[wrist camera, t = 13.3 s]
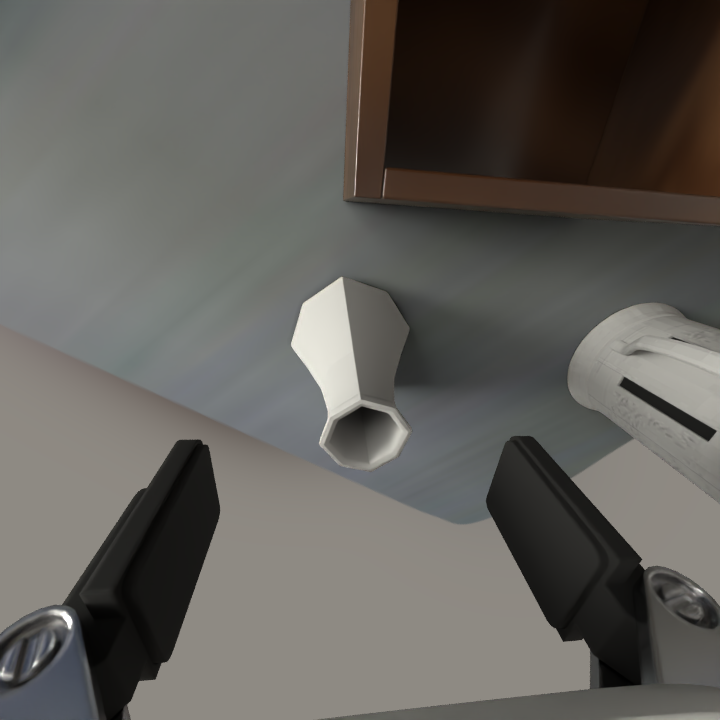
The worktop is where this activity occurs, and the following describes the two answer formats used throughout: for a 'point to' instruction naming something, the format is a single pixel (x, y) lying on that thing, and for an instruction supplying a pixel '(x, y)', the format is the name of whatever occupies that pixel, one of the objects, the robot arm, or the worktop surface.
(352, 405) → the flask
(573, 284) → the worktop surface
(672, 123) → the chest
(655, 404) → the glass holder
